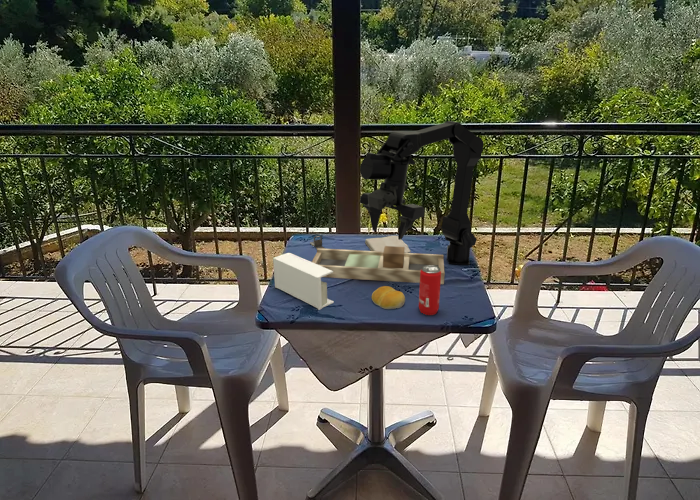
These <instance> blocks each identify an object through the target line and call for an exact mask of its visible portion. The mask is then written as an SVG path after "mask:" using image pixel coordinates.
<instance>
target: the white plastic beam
mask: <svg viewBox="0 0 700 500" xmlns="http://www.w3.org/2000/svg"><path fill="white" fill-rule="evenodd" d="M272 260H273V262H272V263H273V274H274V275H273V276H274V288H275V289H279V290H281V291H283V292H284V293H287V294H289V295H290V296H292V297H294V298H296V299H298V300H301V301H303V302H304V303H307V304H308V305H311V306H313V307H314V308H316V309H317V310H318V311H319V310H322V309H323V308H325V307H327V306H330V305H332V304H334V300H331V299H329V298H328V287H327V286H328V283H327V282H325V281H322V278H325V277H324V276H326V275H328V274H331V273H333V271H332V270H329V269H327V268H325V267H322V266H320V265H317V264H315V263H313V262H312V261H310V260H307V259H305V258H302V257H301V256H298V255H296V254H293V253H291V252H287V253H286V252H285V253H283V254H281V255H280V254H279V255H278V256H275V257H274V256H273V259H272Z"/></svg>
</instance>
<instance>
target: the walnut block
mask: <svg viewBox="0 0 700 500" xmlns="http://www.w3.org/2000/svg"><path fill="white" fill-rule="evenodd" d="M404 250H405V247H394V246H385V248H384V252H383V267H386V268H403V265H404Z"/></svg>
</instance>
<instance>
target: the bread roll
mask: <svg viewBox="0 0 700 500" xmlns="http://www.w3.org/2000/svg"><path fill="white" fill-rule="evenodd" d="M371 300H372V302H373V303H374V304H375V305H376V306H379V307H380V308H382V309H385V310H395V309H396V308H397V309H400V308H402V307H403V306H404V305H405V302H406V297H405V294H404V292H403V291H399V290H396V289H395V288H393V287H392V286H388V285H383V286H379V287H378V288H377V289H375V290H373V292H372V294H371Z"/></svg>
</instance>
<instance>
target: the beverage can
mask: <svg viewBox="0 0 700 500" xmlns="http://www.w3.org/2000/svg"><path fill="white" fill-rule="evenodd" d="M441 285H442V284H441V271H440V268H439V267H437V266H434V265H426V266H423V267H422V269H421V271H420V283H419V292H418V308H419V309H418V310H419V312H420V314H422V313H423V314H422V315H424V314H425V315H424V316H435V315H436V314H437V313H438V311H439V309H440V300H441V299H440V298H441V297H440V296H441V295H440V294H441Z"/></svg>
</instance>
